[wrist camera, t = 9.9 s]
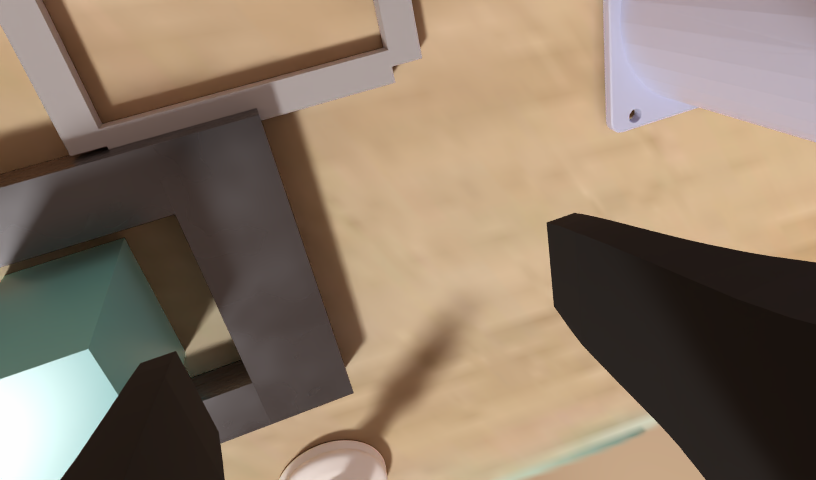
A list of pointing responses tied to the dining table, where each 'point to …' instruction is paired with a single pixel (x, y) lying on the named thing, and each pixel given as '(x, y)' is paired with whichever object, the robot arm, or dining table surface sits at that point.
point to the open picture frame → (83, 130)
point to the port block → (201, 253)
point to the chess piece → (338, 463)
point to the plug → (71, 353)
